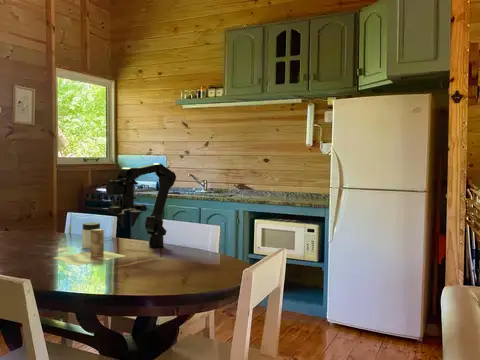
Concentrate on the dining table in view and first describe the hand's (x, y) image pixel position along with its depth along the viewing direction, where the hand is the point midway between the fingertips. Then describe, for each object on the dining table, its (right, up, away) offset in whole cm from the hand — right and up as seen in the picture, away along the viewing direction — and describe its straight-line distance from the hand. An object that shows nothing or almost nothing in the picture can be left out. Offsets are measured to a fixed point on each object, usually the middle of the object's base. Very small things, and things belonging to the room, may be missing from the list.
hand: (127, 227), depth 212 cm
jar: (-20, -11, +10) cm, 25 cm away
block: (-11, -12, -12) cm, 20 cm away
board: (-13, -12, -13) cm, 23 cm away
